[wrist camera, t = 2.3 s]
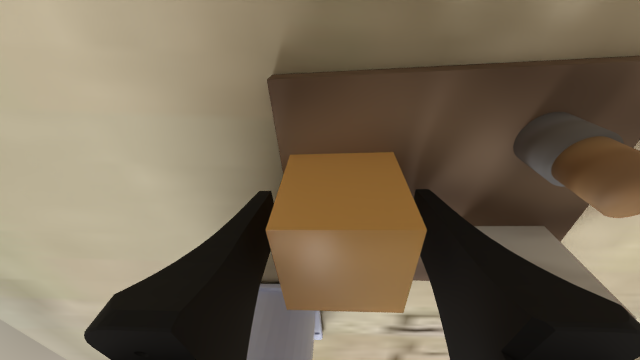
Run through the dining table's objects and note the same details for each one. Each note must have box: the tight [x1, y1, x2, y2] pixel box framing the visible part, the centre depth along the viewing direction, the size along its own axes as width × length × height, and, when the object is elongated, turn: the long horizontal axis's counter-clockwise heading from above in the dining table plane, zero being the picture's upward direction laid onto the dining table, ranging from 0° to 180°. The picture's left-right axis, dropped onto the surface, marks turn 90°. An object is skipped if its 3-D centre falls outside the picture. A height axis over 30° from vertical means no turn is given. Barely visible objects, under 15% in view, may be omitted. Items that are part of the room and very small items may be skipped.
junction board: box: [267, 56, 640, 319], centre depth 11 cm, size 14×16×6 cm
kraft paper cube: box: [266, 152, 427, 313], centre depth 11 cm, size 5×5×5 cm
